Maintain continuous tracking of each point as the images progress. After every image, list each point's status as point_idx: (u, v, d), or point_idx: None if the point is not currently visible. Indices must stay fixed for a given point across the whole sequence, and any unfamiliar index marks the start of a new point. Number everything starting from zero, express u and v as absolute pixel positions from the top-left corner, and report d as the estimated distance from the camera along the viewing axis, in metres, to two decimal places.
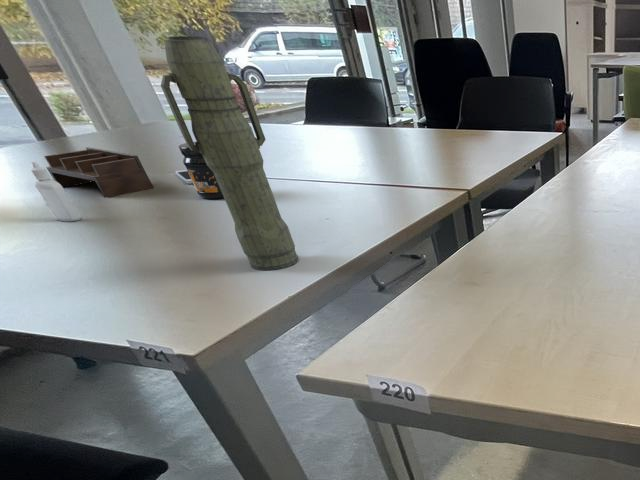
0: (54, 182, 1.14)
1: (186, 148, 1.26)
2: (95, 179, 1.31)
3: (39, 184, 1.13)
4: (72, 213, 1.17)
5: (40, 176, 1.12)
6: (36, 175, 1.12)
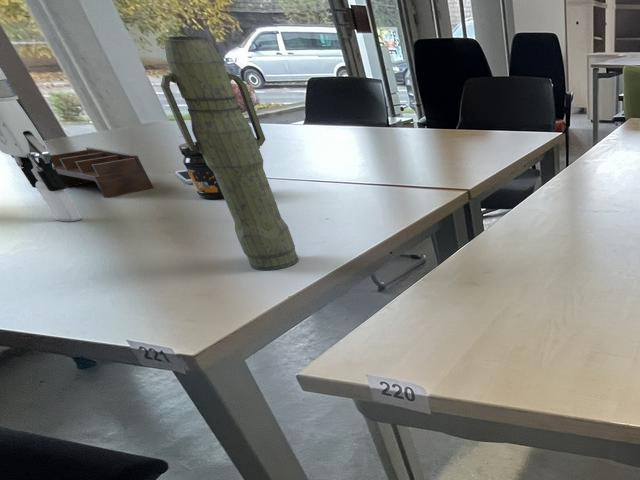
0: None
1: (186, 148, 1.26)
2: (95, 179, 1.31)
3: (39, 184, 1.13)
4: (72, 213, 1.17)
5: None
6: (36, 175, 1.12)
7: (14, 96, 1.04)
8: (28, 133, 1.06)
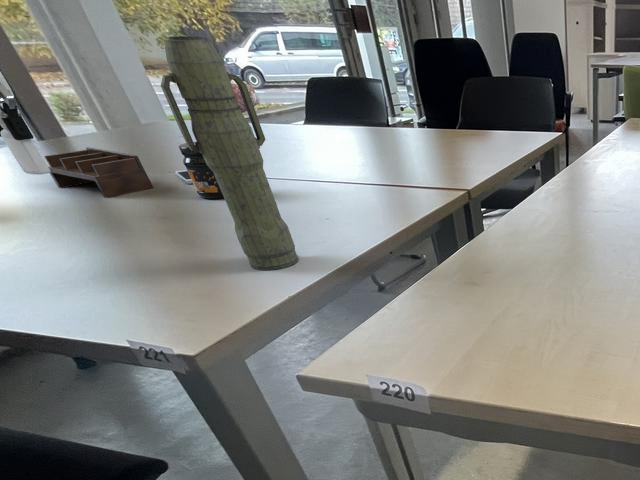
0: None
1: (186, 148, 1.26)
2: (95, 179, 1.31)
3: (4, 132, 1.06)
4: (40, 165, 1.11)
5: None
6: (1, 122, 1.06)
7: None
8: None
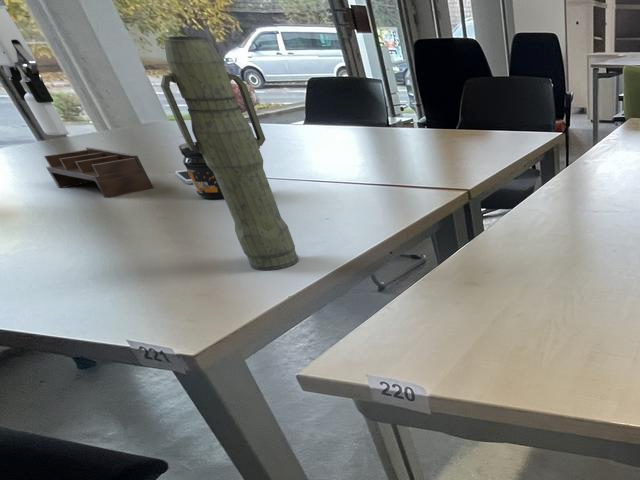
0: None
1: (186, 148, 1.26)
2: (95, 179, 1.31)
3: (27, 96, 1.18)
4: (60, 126, 1.22)
5: (28, 88, 1.17)
6: (25, 86, 1.17)
7: (3, 5, 1.09)
8: (16, 42, 1.11)
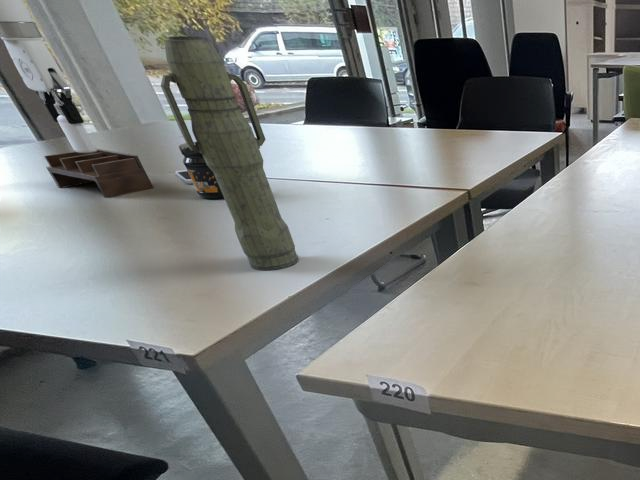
0: None
1: (186, 148, 1.26)
2: (95, 179, 1.31)
3: (60, 118, 1.29)
4: (89, 145, 1.34)
5: (61, 110, 1.29)
6: (58, 109, 1.28)
7: (40, 37, 1.21)
8: (52, 70, 1.23)
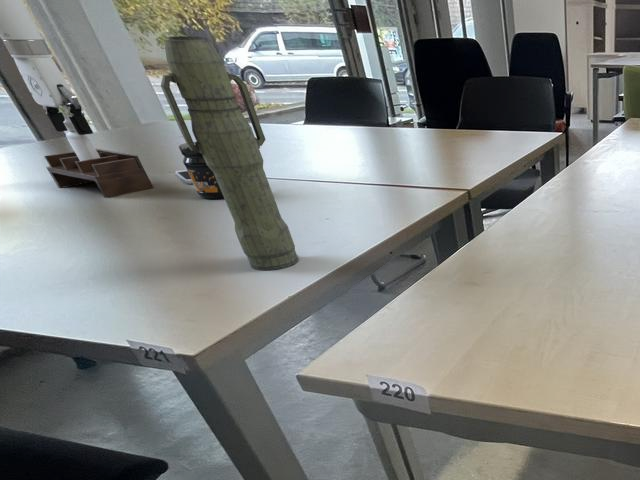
0: None
1: (186, 148, 1.26)
2: (95, 179, 1.31)
3: (70, 134, 1.32)
4: None
5: (71, 127, 1.31)
6: (67, 126, 1.31)
7: (49, 54, 1.23)
8: (60, 84, 1.25)
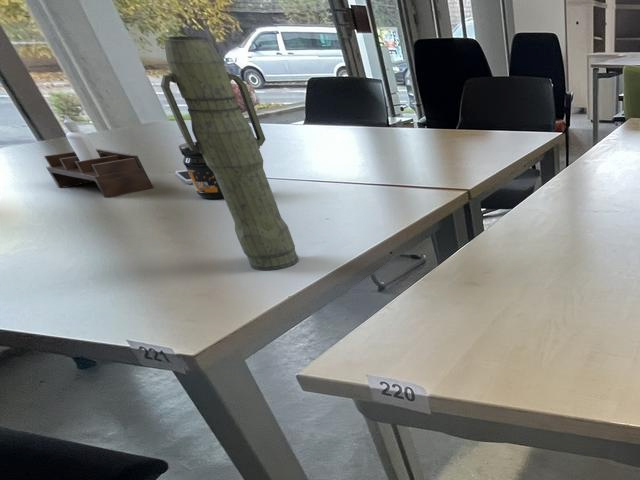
0: (82, 133, 1.33)
1: (186, 148, 1.26)
2: (95, 179, 1.31)
3: (70, 134, 1.32)
4: None
5: (71, 127, 1.31)
6: (67, 126, 1.31)
7: None
8: None
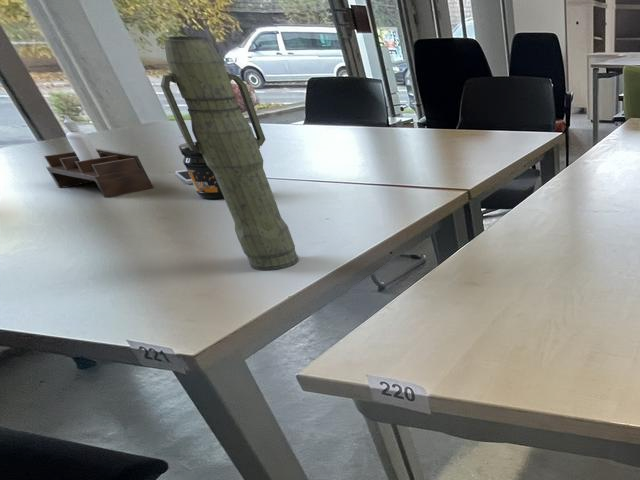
0: (82, 133, 1.33)
1: (186, 148, 1.26)
2: (95, 179, 1.31)
3: (70, 134, 1.32)
4: None
5: (71, 127, 1.31)
6: (67, 126, 1.31)
7: None
8: None
